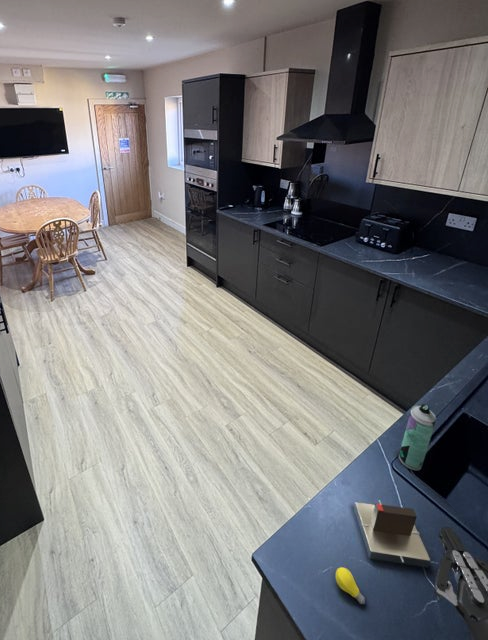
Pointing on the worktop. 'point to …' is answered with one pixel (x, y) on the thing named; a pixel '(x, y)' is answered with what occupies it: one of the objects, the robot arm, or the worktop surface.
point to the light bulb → (348, 584)
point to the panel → (390, 541)
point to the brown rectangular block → (393, 519)
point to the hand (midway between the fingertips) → (444, 529)
